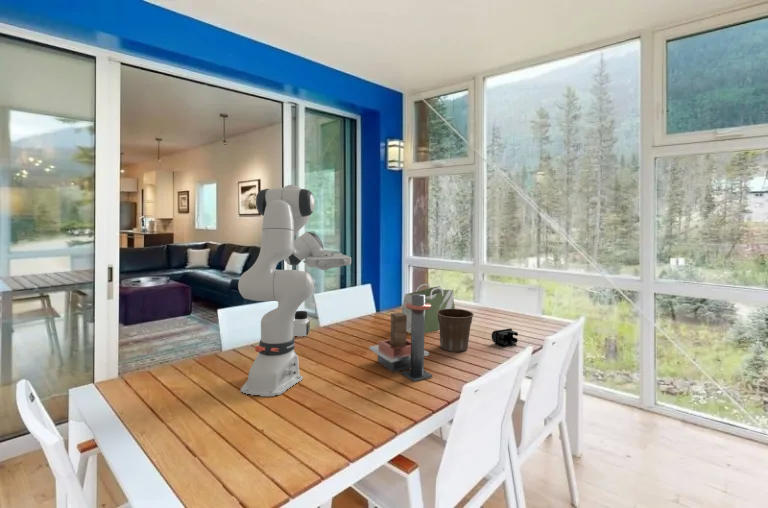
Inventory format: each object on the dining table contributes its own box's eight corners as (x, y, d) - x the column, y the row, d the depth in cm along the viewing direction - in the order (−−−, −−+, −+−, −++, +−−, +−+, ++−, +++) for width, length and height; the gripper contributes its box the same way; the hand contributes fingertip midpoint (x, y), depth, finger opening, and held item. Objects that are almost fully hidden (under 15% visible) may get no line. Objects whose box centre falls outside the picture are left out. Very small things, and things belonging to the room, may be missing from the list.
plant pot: (472, 355, 170) (474, 318, 169) (434, 352, 174) (435, 315, 172) (472, 343, 186) (473, 309, 185) (437, 341, 190) (438, 307, 188)
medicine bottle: (306, 337, 193) (306, 313, 192) (291, 337, 193) (291, 312, 192) (309, 333, 200) (309, 309, 199) (295, 333, 201) (295, 309, 200)
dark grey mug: (506, 340, 192) (507, 326, 192) (518, 344, 186) (518, 330, 185) (490, 343, 188) (491, 329, 187) (501, 347, 181) (502, 333, 181)
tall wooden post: (390, 348, 159) (390, 313, 158) (400, 346, 161) (400, 312, 160) (396, 351, 155) (396, 316, 154) (406, 350, 157) (406, 314, 156)
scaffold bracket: (369, 361, 162) (369, 287, 159) (404, 354, 170) (405, 284, 168) (404, 384, 139) (405, 299, 137) (443, 375, 148) (444, 295, 145)
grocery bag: (417, 336, 198) (418, 289, 196) (398, 330, 208) (399, 286, 206) (458, 325, 219) (460, 283, 217) (439, 320, 229) (440, 280, 227)
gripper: (301, 254, 180) (312, 256, 168) (343, 252, 190) (356, 255, 178) (301, 268, 180) (312, 271, 168) (343, 266, 191) (356, 269, 179)
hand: (335, 263), depth 173 cm, fingers open, 8 cm apart
